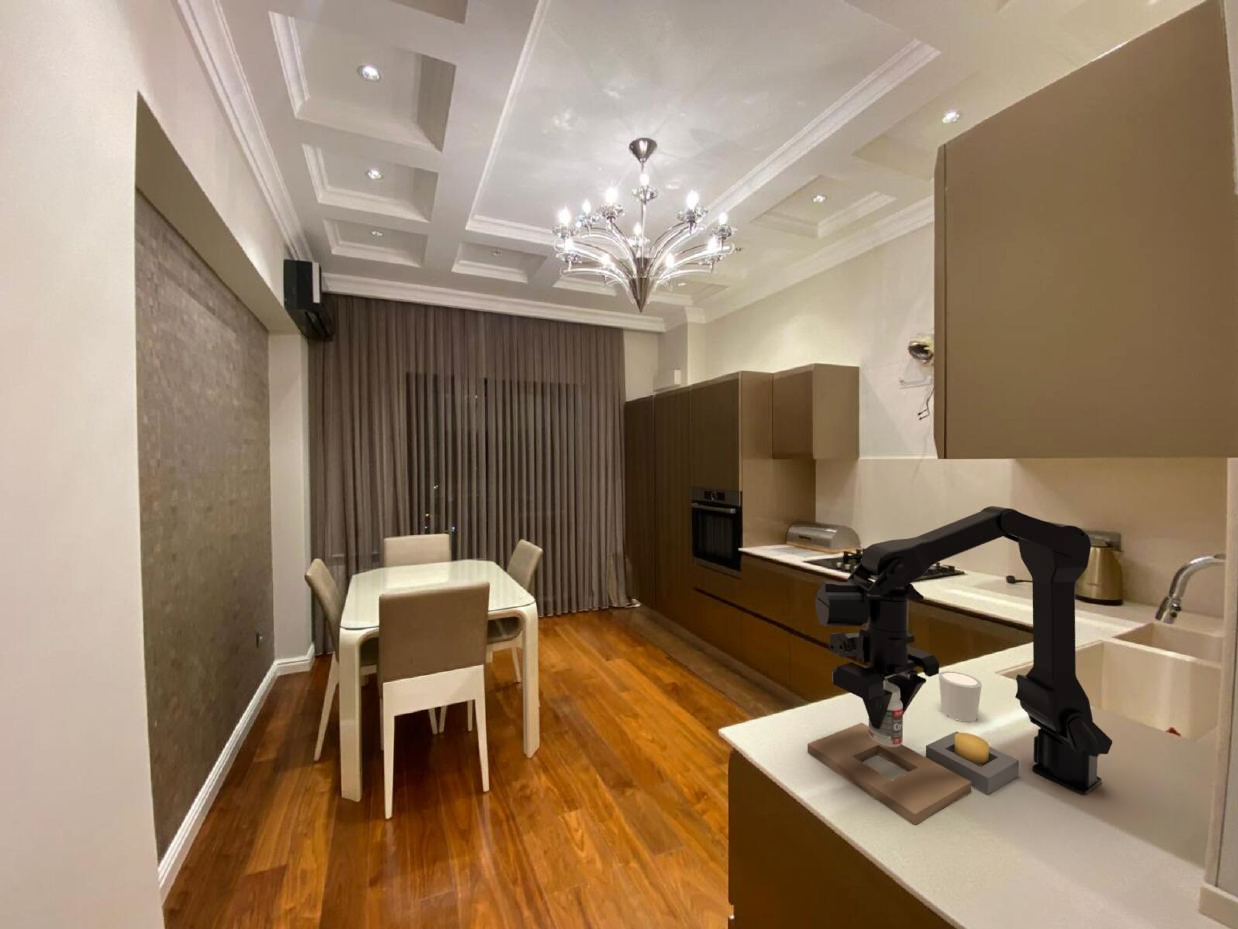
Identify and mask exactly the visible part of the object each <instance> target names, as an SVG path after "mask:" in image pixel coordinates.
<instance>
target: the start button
mask: <svg viewBox="0 0 1238 929" xmlns="http://www.w3.org/2000/svg"><path fill="white" fill-rule="evenodd" d="M989 747H990V745H989V743H988V741H986V740H985V739H983V738H982V737H980V736H978V735H975V734H973V733H969V732H968V733H967V732H959V733H957V734H955V754H956V755H958V756H960V757H962V758H964V759H966V760H968V761H970V762H972V763H974V764H976V765H978V766H980V765H981V766H984V765H985V764H987V763H988V761H989Z"/></svg>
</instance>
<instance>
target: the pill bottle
mask: <svg viewBox="0 0 1238 929" xmlns="http://www.w3.org/2000/svg"><path fill="white" fill-rule="evenodd" d="M885 690H887V691H890V692H892V697H891V700H890V703H889V705H888V708H887V711H886V714H885V717H884V720H883V722H882V725H881V727H880V729H876V728H874V727H873V726H872V725H871V722H870V719H869V718H868V726H869V736H870V738H871V739H872V740H874V741H875V742H877V743H879V744H881V745H884V746H888V747H897V746H900V745H901V744H902V745H903V741H904V740H903V739H904V736H903V731H904V730H903V725H904V720H903V719H904V714H903V704H902V702H901V700H900V689H899V687H898V686H896V685H894V684H892V683H889V682H888V681H886V682H885Z"/></svg>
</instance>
